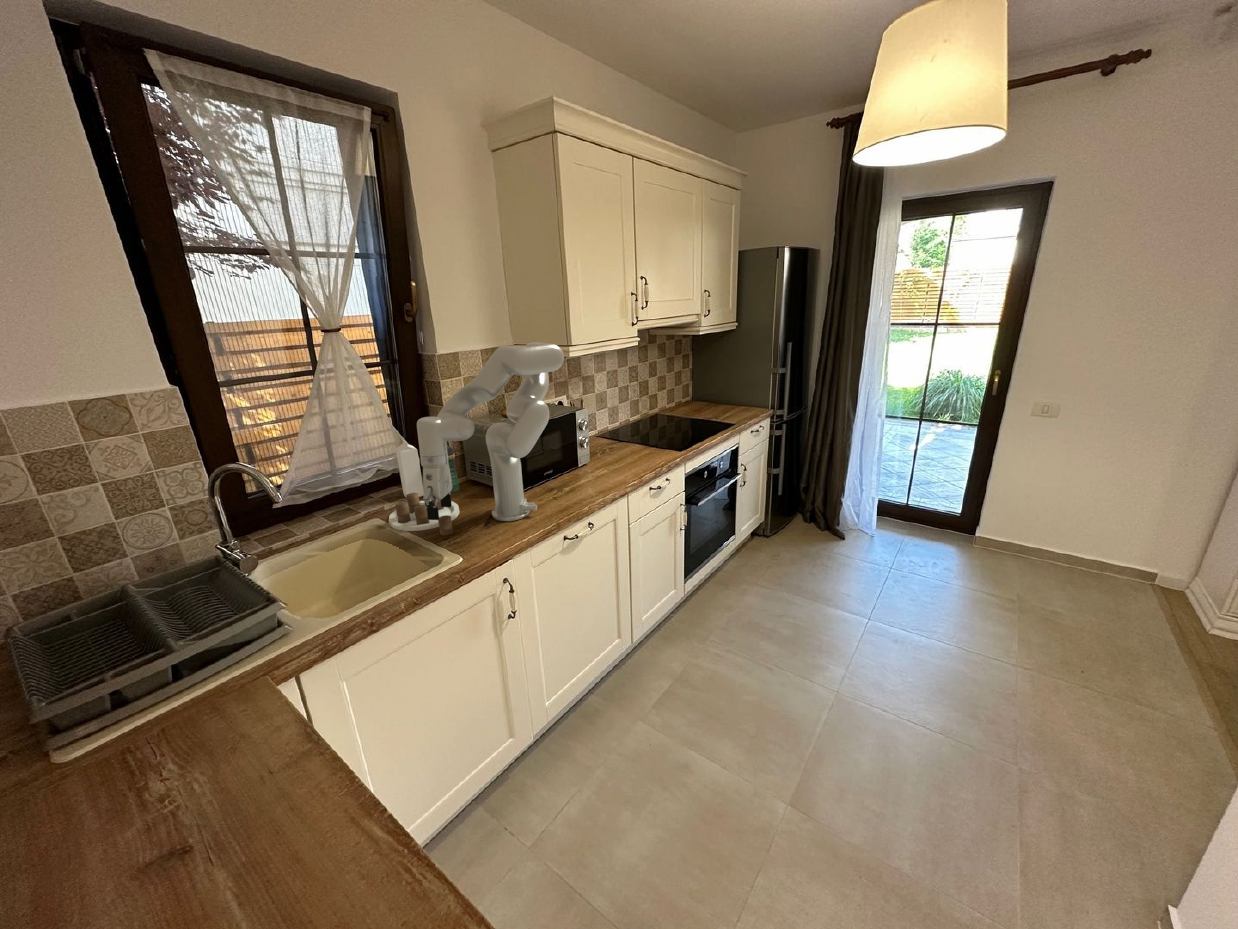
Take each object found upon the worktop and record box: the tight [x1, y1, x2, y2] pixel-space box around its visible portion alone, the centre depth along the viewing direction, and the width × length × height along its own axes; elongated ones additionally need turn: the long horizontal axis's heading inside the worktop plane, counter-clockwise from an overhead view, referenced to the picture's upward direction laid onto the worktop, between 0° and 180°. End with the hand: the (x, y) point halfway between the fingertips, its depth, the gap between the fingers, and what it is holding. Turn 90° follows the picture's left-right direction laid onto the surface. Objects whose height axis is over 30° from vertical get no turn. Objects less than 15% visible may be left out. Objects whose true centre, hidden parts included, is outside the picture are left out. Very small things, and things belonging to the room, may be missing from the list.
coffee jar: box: [447, 444, 460, 493], centre depth 182 cm, size 10×8×19 cm
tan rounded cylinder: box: [438, 515, 454, 536], centre depth 149 cm, size 4×4×6 cm
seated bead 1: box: [405, 493, 420, 513], centre depth 165 cm, size 4×4×6 cm
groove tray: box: [388, 500, 460, 532], centre depth 162 cm, size 22×22×2 cm
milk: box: [395, 438, 425, 498], centre depth 176 cm, size 6×6×22 cm
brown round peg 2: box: [414, 505, 429, 525], centre depth 155 cm, size 4×4×6 cm
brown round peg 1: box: [394, 501, 411, 523], centre depth 158 cm, size 4×4×6 cm
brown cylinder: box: [431, 496, 444, 510], centre depth 167 cm, size 4×4×6 cm
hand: (440, 512), depth 147 cm, fingers open, 9 cm apart
